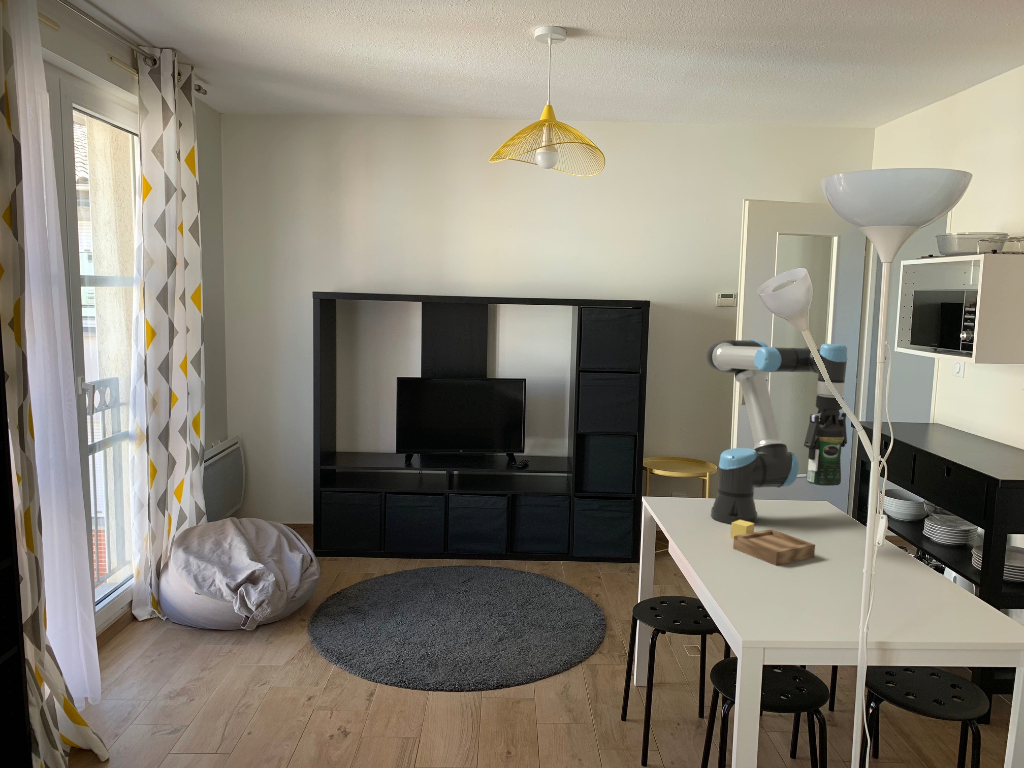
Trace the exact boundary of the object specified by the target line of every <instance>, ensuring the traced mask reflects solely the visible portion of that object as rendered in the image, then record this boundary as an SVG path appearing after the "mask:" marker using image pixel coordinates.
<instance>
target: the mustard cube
mask: <svg viewBox="0 0 1024 768" xmlns="http://www.w3.org/2000/svg"><path fill="white" fill-rule="evenodd" d="M755 524H756V523H751V522H747V521H743V520H738V521H735V522H732V524H731V526H730V528H731V529H730V539H732V540H734V536H737V535H742V534H748V533H754V532H755Z"/></svg>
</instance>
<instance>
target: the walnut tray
mask: <svg viewBox="0 0 1024 768" xmlns="http://www.w3.org/2000/svg"><path fill="white" fill-rule="evenodd" d="M732 543H733V547H732V548H733V549H734V550H737V551H738V552H741V553H743V554H746V555H749V556H752V557H753V558H756V559H759V560H760V561H761V560H762V561H764V562H766V563H769V564H771V565H773V566H779V565H784V564H785V565H786V564H789V563H793V562H798V561H803V560H808V559H812V558H815V551H816V544H815V543H812V542H809V541H806V540H803V539H801V538H797V537H794V536H792V535H789V534H787V533H785V532H781V531H778V530H775V529H772V528H771V529H766V530H761V531H760V530H759V531H754V533H748V534H742V535H737V536H734V539H733V542H732Z"/></svg>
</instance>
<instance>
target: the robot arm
mask: <svg viewBox="0 0 1024 768" xmlns="http://www.w3.org/2000/svg"><path fill="white" fill-rule="evenodd" d="M820 345H821V346H820V348H816V349H817V351H818V353H819V355H820V357H821V359H822V361H823V363H824V365H825V368H826V370H827V373H828V375H829V378H830V380H831V382H832V384H833V385H834V387H835V388H836V390H837V391H838V393H839V394H840V396H841V397H842V399H843V400H844V398H843V396H844V395H845V387H846V386H845V380H846V373H847V372H846V371H847V365H848V364H847V361H848V347H847V346H846V345H844V344H837V343H836V344H835V343H823V344H820ZM809 347H810V346H804V347H773V346H769V345H767V343H766V342H763V341H761V340H754V339H749V340H740V339H739V340H737V339H736V340H735V339H731V340H730V339H722V340H718V341H716V342H713V343H712V344H711V345H710V346H709V347H708V348H707V350H706V355H705V359H706V363H707V364H708V366H709V368H711V369H712V370H715V372H719V373H731V374H732V373H733V375H734V379H735V381H736V382H737V383H740V386H741V391H742V394H743V399H744V404H745V408H746V412H747V417H748V422H749V424H750V429H751V435H752V438H753V443H754V447H753V448H749V447H733V448H729V449H725V450H724V451H723V452H721V453H720V456H719V457H720V458H719V463H718V468H719V469H718V482H717V495H716V497H715V500H714V503H713V506H712V507H711V510H710V517H711V519H713V520H715V521H718V522H721V523H726V524H730V525H732V522H735V521H738V520H743V521H747V522H751V523H755V524H756V523H757V522H758V519H759V518H758V517H759V516H758V515H759V514H758V512H757V509H756V505H755V504H756V503H755V498H754V494H755V488H756V489H757V488H758V489H759V488H783V487H789V486H791V485H793V484H794V482H796V480H797V478H798V475H799V470H800V469H799V467H800V466H799V459H798V456H797V455H795V453H794V452H791V451H789V450H788V446H787V444H786V443H784V441H781V437H780V433H779V428H778V424H777V420H776V417H775V412H774V408H773V404H772V400H771V395H770V392H769V387H768V384H767V379H766V378H767V377H768V375H769V373H813V374H817V375H818V376H817V386H816V394H818V395H816V400H815V407H816V409H818V411H817V412H816V414H813V413H811V414H810V415H809V423H808V427H807V432H806V435H805V439H804V444H803V446H804V447H805V448H807V449H808V463H809V464H808V463H807V468H808V469H809V470H813V471H817V467H818V455H819V450H818V449H817V447H818V445H819V443H820V441H819V437H820V435H819V436H816V434H817V430H818V426H819V424H822V425H823V426H822V425H820V426H821V427H822V428H827V427H828V425H831V424H836V425H841V426H843V429H844V440H843V442H842V444H841V448H845V447H846V445H847V444H848V437H847V436H848V435H847V425H846V423H847V422H846V420H847V419H846V418H847V413H846V412H842V411H841V410H842V409H843V407H841V406H840V404H839V403H838V401H837V400H836V398H835V396H834V395H833V394H832V392H831V391H830V389H829V388H828V386H827V385H826V383H825V380H824V378H823V376H822V374H821V372H820V370H819V368H818V366H817V364H816V362H815V360H814V357H813V355H812V353H811V351H810V349H809ZM841 456H842V452H841V453H840V457H841Z"/></svg>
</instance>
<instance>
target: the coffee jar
mask: <svg viewBox="0 0 1024 768" xmlns="http://www.w3.org/2000/svg"><path fill="white" fill-rule="evenodd" d="M820 425H822V424H819V426H818V430H817V434H816V436H819V435H820V437H819V441H820V443H819V445H818V447H817V449H818V450H819V455H818V467H817V471H813V470H809V469H808V467H807V469H806V475H805V479H806V481H807V482H808V484H811V485H816V486H819V487H820V486H822V487H825V486H826V487H829V486H830V487H831V486H832V487H833V486H839V485H841V482H842V469H841V468H842V467H841V466H842V465H841V456H840V453H841V454H842V447H841V444H842V442H843V440H844V429H843V426H841V425H836V424H831V425H828V427H827V428H822V427H821V426H820ZM822 426H823V425H822ZM808 464H809V462H808V463H807V465H808Z"/></svg>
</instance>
